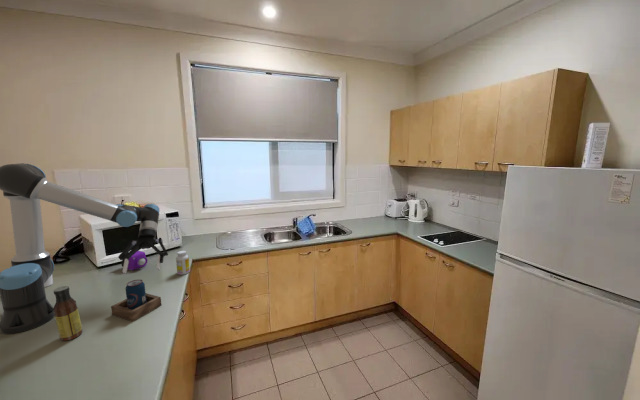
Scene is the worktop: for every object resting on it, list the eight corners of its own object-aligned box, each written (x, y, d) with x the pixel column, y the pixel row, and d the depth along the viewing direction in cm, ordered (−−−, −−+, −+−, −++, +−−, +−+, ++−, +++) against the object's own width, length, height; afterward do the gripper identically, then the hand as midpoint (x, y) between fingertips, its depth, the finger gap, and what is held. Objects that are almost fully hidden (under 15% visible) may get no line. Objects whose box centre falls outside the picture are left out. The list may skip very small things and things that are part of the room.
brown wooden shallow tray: (132, 321, 107) (131, 312, 106) (112, 314, 111) (111, 306, 111) (161, 305, 119) (160, 297, 118) (142, 299, 124) (141, 291, 123)
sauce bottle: (81, 328, 102) (73, 281, 99) (84, 335, 98) (76, 287, 95) (57, 337, 97) (49, 288, 94) (60, 344, 93) (51, 294, 90)
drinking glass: (34, 286, 136) (29, 259, 133) (52, 281, 142) (47, 255, 139) (39, 289, 133) (34, 262, 130) (57, 284, 139) (52, 257, 136)
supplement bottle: (189, 269, 158) (187, 249, 156) (190, 273, 152) (188, 252, 150) (176, 271, 154) (175, 251, 152) (177, 276, 148) (175, 254, 146)
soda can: (124, 311, 112) (120, 286, 110) (135, 303, 119) (132, 278, 117) (139, 312, 112) (136, 286, 110) (150, 303, 119) (147, 278, 117)
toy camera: (138, 272, 153) (136, 256, 152) (119, 270, 156) (117, 254, 154) (153, 265, 164) (152, 250, 162) (135, 263, 167) (133, 248, 165)
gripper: (176, 233, 139) (173, 270, 128) (121, 237, 131) (112, 277, 120) (173, 226, 133) (169, 264, 122) (116, 229, 125) (106, 271, 114)
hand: (141, 271), depth 121 cm, fingers open, 13 cm apart
